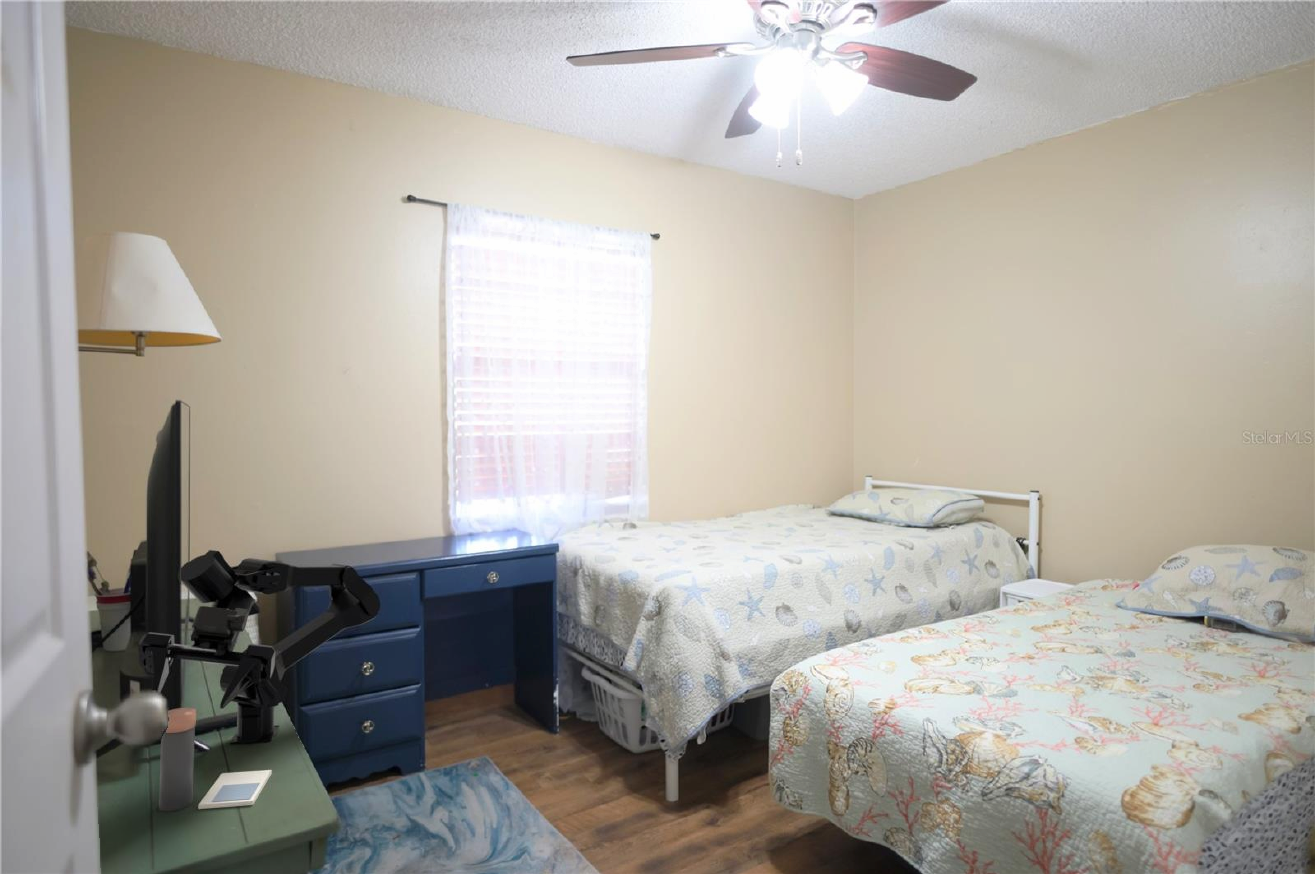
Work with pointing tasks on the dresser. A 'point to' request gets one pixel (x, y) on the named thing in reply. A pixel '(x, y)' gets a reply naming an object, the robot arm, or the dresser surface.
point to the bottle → (177, 760)
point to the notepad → (235, 789)
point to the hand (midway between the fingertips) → (187, 703)
